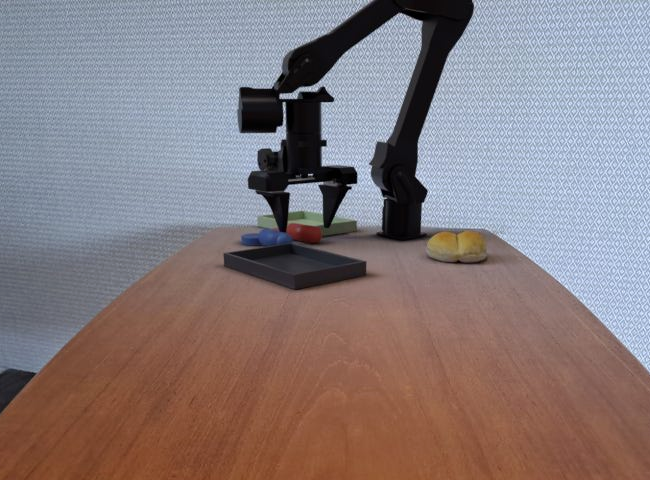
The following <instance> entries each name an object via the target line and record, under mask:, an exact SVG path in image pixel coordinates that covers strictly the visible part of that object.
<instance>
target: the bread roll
mask: <svg viewBox="0 0 650 480" xmlns="http://www.w3.org/2000/svg"><path fill="white" fill-rule="evenodd" d="M487 247H488V243H487V241H486V240H485V238H484V237H483V235H481V234H479V233H478V232H475V231H472V230H465V231H463V232H460V233H458V234H457V233H454V232H451V231H441V232H438V233H435V234H434V235H433V236H432V237H431V238H430V239H429V240H428V241H427V244H426V254H427V256H428V257H430V258H431V259H434V260H437V261H439V262H443V263H456V262H458V261H459V262H461V263H463V264H464V263H466V264H468V263H479V262H481V261H484V260H485V259H486V258H487V254H488V251H487Z"/></svg>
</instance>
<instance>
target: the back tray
mask: <svg viewBox="0 0 650 480" xmlns="http://www.w3.org/2000/svg"><path fill="white" fill-rule="evenodd" d="M256 218H257V219H256V220H257V221H256V222H257V227H261V228H263V229H272V228H278V226H277V223H276V221H275V218H274V215H273V213H269V214H263V215H261V214H260V215H257V216H256ZM291 223H298V224H304V225H310V226H316V227H318V228H319V229H320V230H321V232H322V237H325V236H332V235H338V234H346V233H352V232H357V230H358V229H357V228H358V226H357V225H358V220H357V219H353V218H352V219H350V218H346V217H342V216H336V215H335V217H334V219H333V221H332V223H331V225H330V227H329V228H325V227H324V223H323V213H319V212H314V211H309V210H296V211H295V210H294V211H289V212H288V224H287V226H288V225H289V224H291Z"/></svg>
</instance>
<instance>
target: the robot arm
mask: <svg viewBox="0 0 650 480" xmlns="http://www.w3.org/2000/svg"><path fill="white" fill-rule="evenodd" d="M473 1H474V0H371V1H369V2H368V3H367V4H365V5H364V6H363V7H361V8H360V9H359V10H358V11H356V12H355V13H353V14H352V15H350V16H349V17H348V18H346V19H345V20H344V21H342V22H340V23H339V24H338V25H337V26H336V27H334V28H333V29H331V30H330V31H328V32H327V33H325V34H323V35H321V36H319V37H317V38H315V39H311V40H310V41H308V42H306V43H304V44H302V45H300V46H297V47H295V48H293V49H291V50H289V51H288V52H287V53H286V54H285V55H284V57H283V59H282V64H281V71H282V72H281V73H280V74H279V76H278V77H277V79H276V81H275V82H273V85H272V86H271V88H269V87H268V88H266V87H265V88H255V87H250V86H239V88H238V106H237V110H236V112H237V113H236V115H237V125H238V126H237V127H238V131H239V134H276V133H277V130H278V128H280V127H283V125H284V113H285V139H284V138H283V139H281V140H280V148H279V150H278V151H273V150H272V148H270V147H268V148H260V149H258V150H257V154H256V155H257V157H256V159H257V160H256V161H257V166H258V167H257V168H258V170H251V171H250V173H249V175H248V177H247V189H248V190H252V191H254V192H255V194H256V195H259V196H262V197H263V199H264V200H265V201H266V203H267V204H268V206H269V208H270V210H271V214H273V215H274V218H275V221H276V223H277V226H278V229H279V231H280V232H284V233H286V230H287V224H288V212H290V199H291V192H288V191H286V190H287V189H288V187H289V186H293V185H305V184H316V183H322V184H317V186H318V188H319V191H320V193H321V195H322V214H323V223H324V227H325V228H329V227H330V225H331V223H332V221H333V219H334V217H335V216H336V214H337V213H338V210H339V208H340V206H341V204H342V203H343V200H344V199H345V197H346V196H347V193H348V192H349V191H351V190H352V189H353V186H351V185H358V179H359V178H358V174H359V173H358V171H357V170H356V168H355V166H349V165H341V164H340V165H339V164H335V165H334V164H333V165H323V147H327V146H328V139H323V133H322V132H323V127H322V125H323V124H322V122H323V119H322V118H323V117H322V109H323V108H322V103H334V102H335V97H334V96H333V95H331V94H330V93H329V91H328V90H327V89H326V87H325V86H320V87H319V88H318V89H317V90H316V91H308V90H307V91H304V90H303V91H298V92H297V97H296V98H280V97H281V95H285V94H286V95H287V94H293V93H294V92H296V91H297V90H298V89H300V88H308V87H313V86H315V85H317V84H318V83H319V82H320V81H322V80H323V78H324V77H325V76H326V75H327V74H328V73H329V72H330V71H331V70H332V69H333V68H334V67H335V65H336V64H337V62H338V61H339V60H340V59H341V58H342V57H343V56H344V55H345V54H346V53H347V52H348V51H349V50H350V49H352V48H353V47H355V46H356V45H358V44H359V43H360V42H362V41H363V40H364V39H366V38H367V37H369V36H370V35H371V34H373V33H374V32H376V31H377V30H378V29H380V28H381V27H382V26H384V24H386V23H388V22H389V21H390V20H391V19H393V18H394V17H396V16H397V15H398V14H401V15H403V16H406V17H408V18H410V19H413V20H416V21H419V22H422V23H421V28H420V29H421V30H420V31H421V32H420V33H421V46H420V51H419V54H418V55H417V56H418V57H417V60H416V63H415V64H414V65H415V66H414V67H413V68H414V69H413V72H412V74H411V77H410V80H409V83H408V85H407V89H406V92H405V95H404V97H403V101H402V104H401V106H400V109H399V110H400V111H399V113H398V114H397V115H398V116H397V118H396V122H395V125H394V126H393V127H394V128H393V131H392V132H391V135H390V136H389V137H388V139H387V140H386V141H379V140H378V141H377V142H376V144H375V146H374V153H373V157H372V158H371V160H370V161H369V163H368V166H371V169H370V177H371V180H372V182H373V183H374V185H375V186H376V187H377V188H379V191H380V193H381V196H382V198H383V207H382V209H381V210H382V211H381V212H382V214H381V231H376V234H375V235H376V236H380V237H385V238H390V239H394V240H399V241H404V240H410V239H416V238H423V237H427V236H428V233H427V232H424V231H422V213H423V212H422V210H423V203H425V201H426V198H427V196H428V193H429V190H428V189H427V188H426V187H425V185H424V184H423V183H422V182H421V181H420V180H419V179H418V178H417V177H416V173H417V168H418V162H419V140H420V137H421V134H422V131H423V128H424V126H425V123H426V120H427V117H428V115H429V111H430V109H431V105H432V102H433V100H434V97H435V95H436V91H437V88H438V85H439V83H440V80H441V77H442V75H443V71H444V68H445V65H446V62H447V59H448V57H449V55H450V53H451V52H452V50H453V49H454V47H456V45H457V44H458V42H459V40H460V39H461V38H462V37H463V35H464V33H465V31H466V29H467V28H468V26H469V23H470V21H471V20H472V18H473V15H474V13H475V12H474V11H475V3H474V2H473ZM284 104H285V105H284ZM284 107H285V110H284ZM284 111H285V112H284Z"/></svg>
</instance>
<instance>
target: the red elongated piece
mask: <svg viewBox="0 0 650 480" xmlns="http://www.w3.org/2000/svg"><path fill="white" fill-rule="evenodd" d="M271 230H276V231H279V229H278V228H272V229H271ZM286 233H287V234H289V235H290V236H291V237H292V240H293V241H299V242H304V243H308V244H317V243H319V242H320V241H321V240H322V239H323V236H322V232H321V230H320V229H319V228H318V227H316V226H310V225H304V224H298V223H291V224H289V225H288V226H287V230H286Z"/></svg>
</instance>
